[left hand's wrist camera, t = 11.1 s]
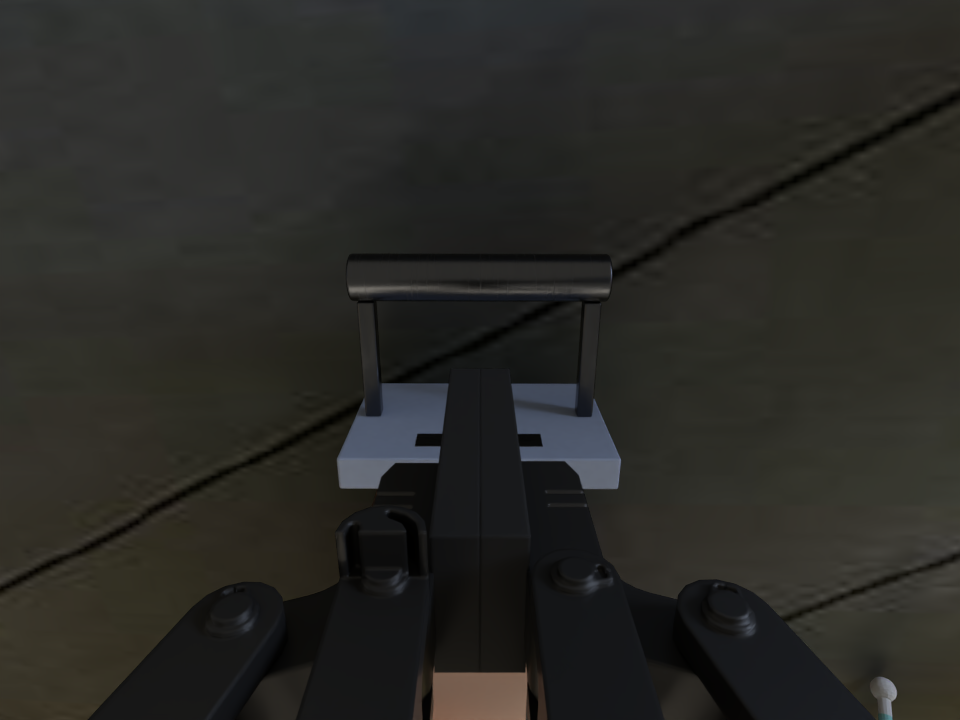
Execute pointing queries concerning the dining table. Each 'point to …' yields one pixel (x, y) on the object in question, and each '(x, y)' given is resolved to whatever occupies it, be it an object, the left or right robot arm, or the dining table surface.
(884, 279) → the dining table surface
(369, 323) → the drawer
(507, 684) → the cabinet
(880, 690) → the molecular model
